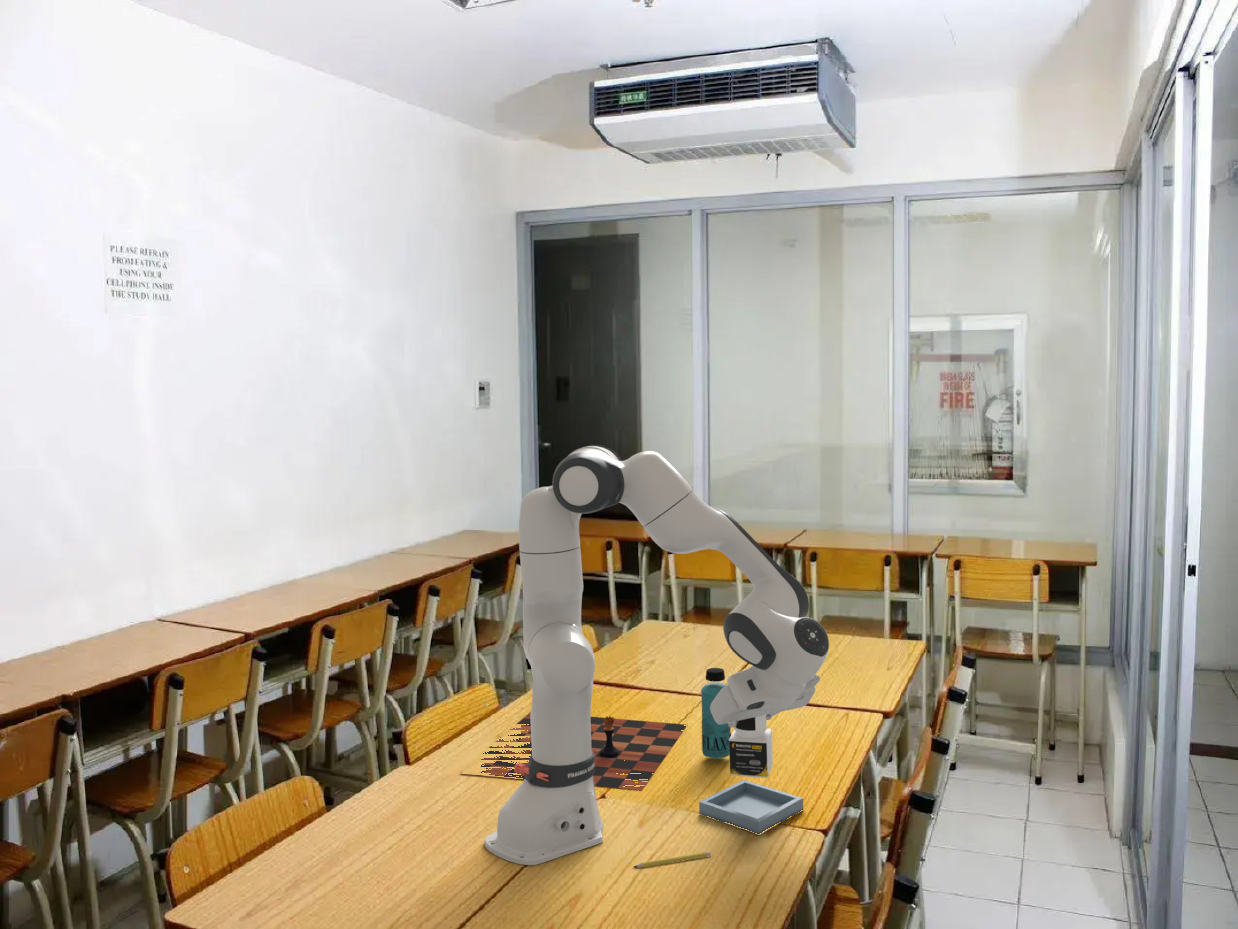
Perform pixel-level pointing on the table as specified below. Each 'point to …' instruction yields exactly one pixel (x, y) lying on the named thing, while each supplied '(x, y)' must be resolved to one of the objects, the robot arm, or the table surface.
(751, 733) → the medicine bottle
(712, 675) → the beverage bottle
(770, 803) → the tray
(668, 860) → the pencil
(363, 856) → the table surface
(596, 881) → the table surface
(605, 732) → the chessboard
